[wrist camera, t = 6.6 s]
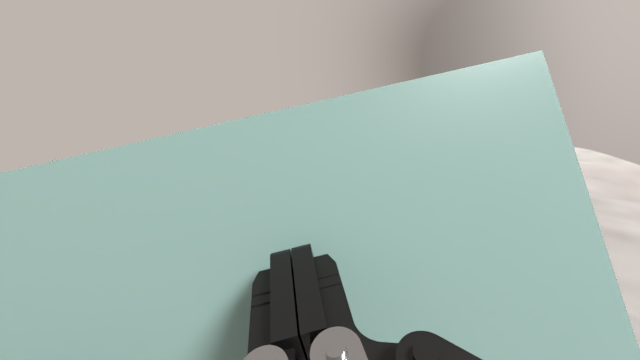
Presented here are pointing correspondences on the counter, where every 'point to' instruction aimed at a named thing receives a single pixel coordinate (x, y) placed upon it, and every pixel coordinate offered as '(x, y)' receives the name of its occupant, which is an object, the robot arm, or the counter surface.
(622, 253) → the counter surface
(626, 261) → the counter surface
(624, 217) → the counter surface
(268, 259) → the panel
